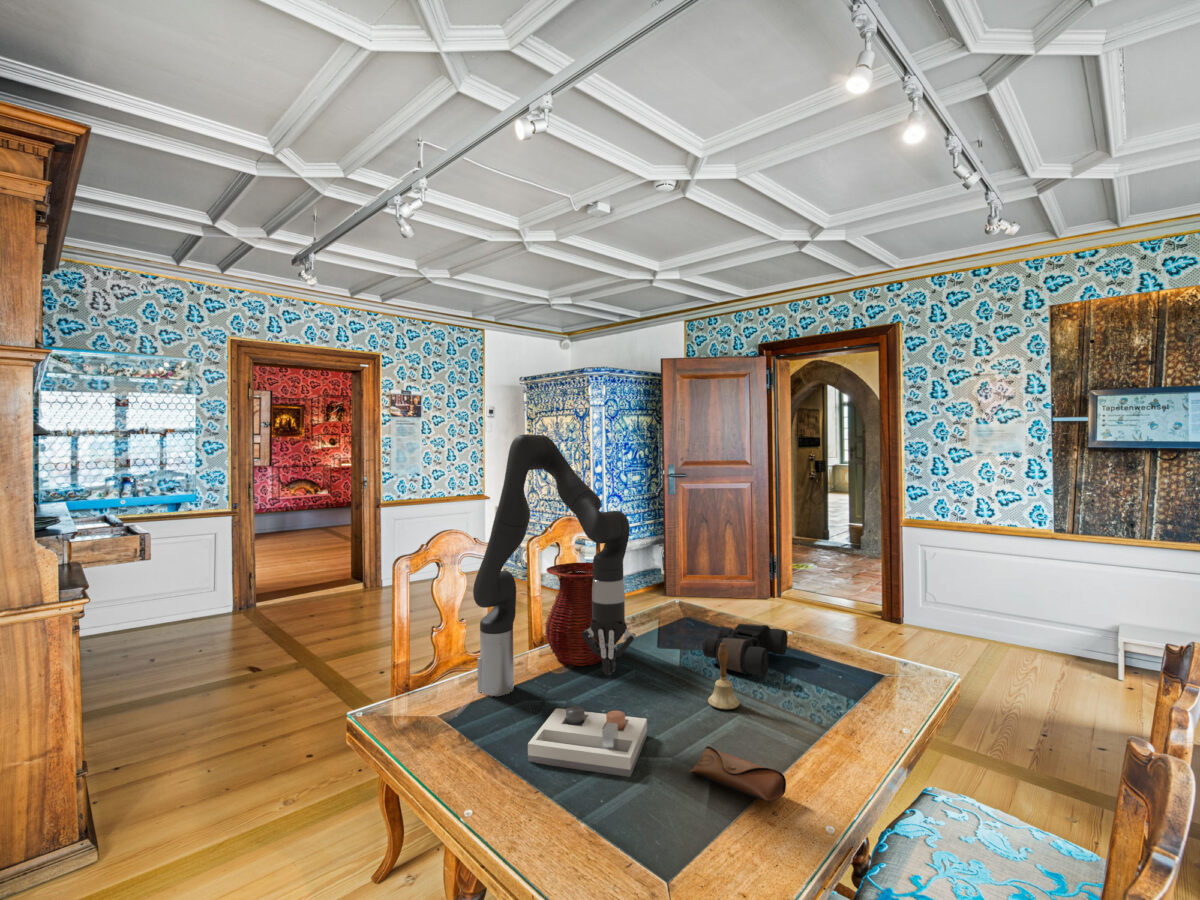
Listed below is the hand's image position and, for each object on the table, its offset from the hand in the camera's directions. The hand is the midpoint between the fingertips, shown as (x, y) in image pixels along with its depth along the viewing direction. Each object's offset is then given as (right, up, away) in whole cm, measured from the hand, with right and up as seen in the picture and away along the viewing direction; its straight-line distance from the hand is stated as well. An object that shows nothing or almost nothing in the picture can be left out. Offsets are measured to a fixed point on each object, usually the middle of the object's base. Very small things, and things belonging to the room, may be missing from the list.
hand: (608, 673), depth 131 cm
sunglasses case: (+24, -17, -17) cm, 34 cm away
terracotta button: (+2, -13, +2) cm, 13 cm away
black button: (-8, -13, +5) cm, 16 cm away
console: (-4, -17, -1) cm, 17 cm away
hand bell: (+31, -17, +22) cm, 42 cm away
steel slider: (0, -15, -7) cm, 16 cm away
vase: (-8, -18, +55) cm, 59 cm away
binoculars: (+44, -17, +52) cm, 71 cm away
